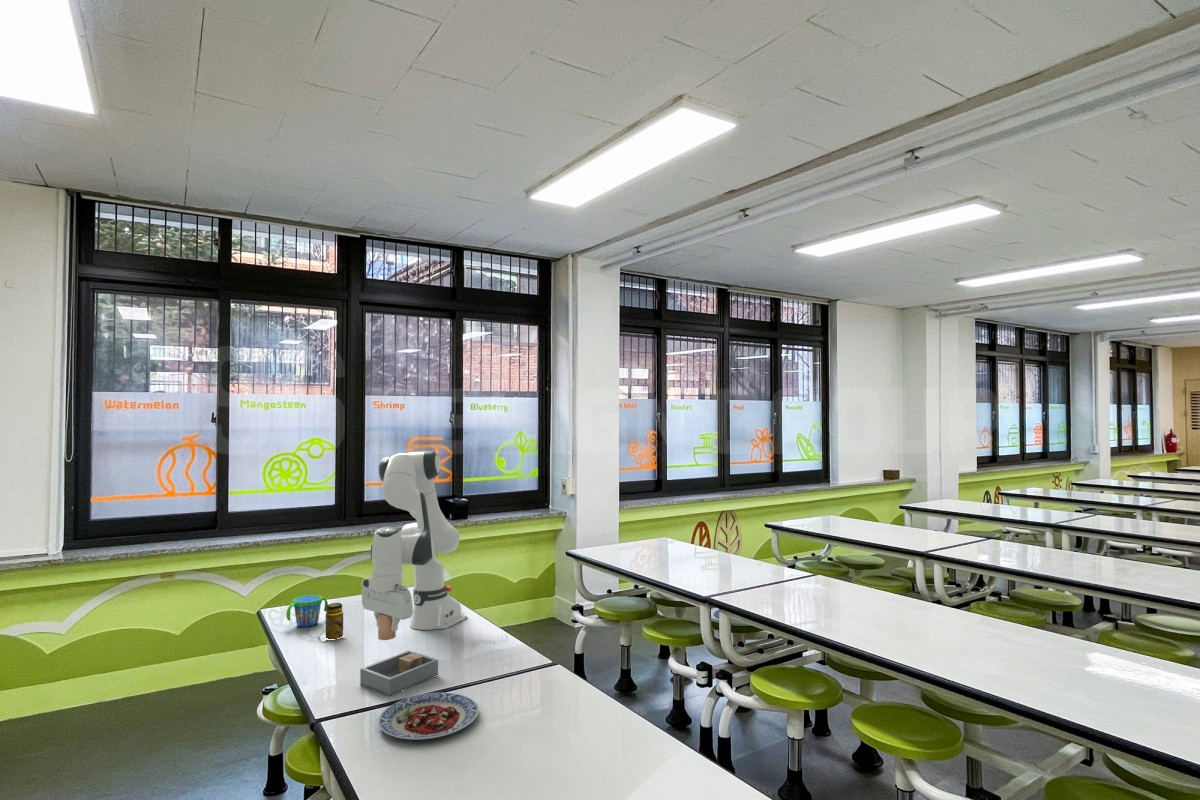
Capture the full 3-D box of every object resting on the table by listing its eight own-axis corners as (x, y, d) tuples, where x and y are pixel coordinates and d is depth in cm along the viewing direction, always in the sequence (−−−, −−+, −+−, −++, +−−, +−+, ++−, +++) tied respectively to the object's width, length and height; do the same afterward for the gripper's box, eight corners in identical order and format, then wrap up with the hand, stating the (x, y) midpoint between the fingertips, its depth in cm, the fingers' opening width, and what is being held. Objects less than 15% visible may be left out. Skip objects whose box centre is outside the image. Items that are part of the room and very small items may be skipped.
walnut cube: (411, 669, 204) (411, 653, 204) (422, 672, 201) (422, 656, 201) (398, 674, 200) (398, 658, 200) (408, 678, 197) (408, 661, 197)
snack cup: (322, 617, 259) (322, 591, 259) (333, 623, 252) (333, 597, 252) (281, 626, 248) (281, 599, 248) (291, 632, 241) (291, 605, 241)
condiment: (346, 638, 235) (346, 605, 235) (321, 643, 230) (321, 609, 230) (341, 632, 241) (341, 600, 241) (317, 637, 236) (317, 604, 236)
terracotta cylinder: (388, 633, 197) (388, 610, 197) (399, 636, 194) (399, 613, 195) (374, 638, 193) (374, 614, 193) (385, 641, 190) (385, 617, 190)
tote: (409, 665, 209) (409, 650, 209) (438, 675, 201) (438, 659, 201) (360, 685, 194) (360, 668, 194) (389, 696, 186) (389, 679, 186)
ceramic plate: (496, 708, 179) (496, 697, 179) (443, 755, 155) (443, 742, 155) (418, 694, 188) (418, 684, 188) (356, 736, 164) (356, 725, 164)
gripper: (418, 585, 191) (418, 632, 190) (375, 575, 203) (375, 619, 202) (400, 590, 186) (400, 638, 185) (358, 579, 197) (357, 625, 197)
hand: (387, 628), depth 194 cm, fingers closed on terracotta cylinder, 5 cm apart
